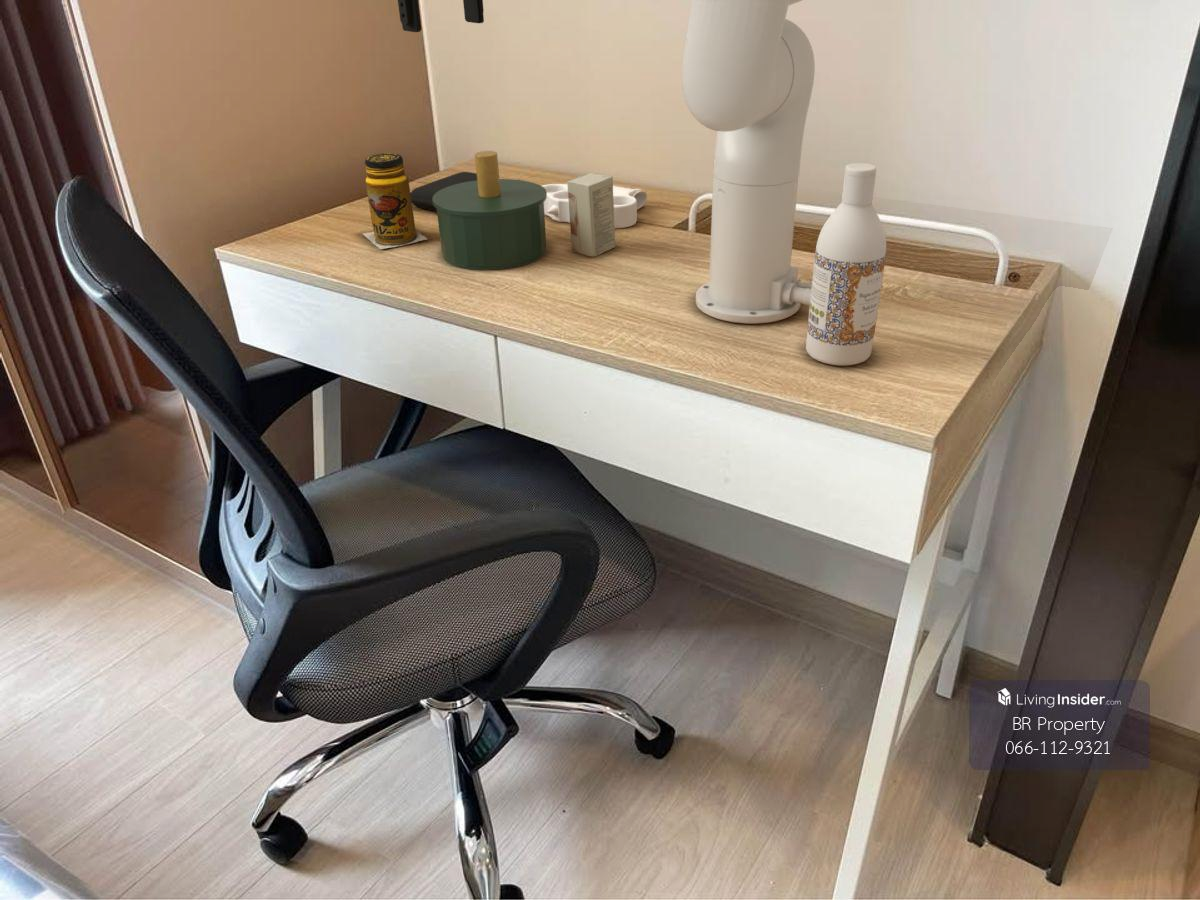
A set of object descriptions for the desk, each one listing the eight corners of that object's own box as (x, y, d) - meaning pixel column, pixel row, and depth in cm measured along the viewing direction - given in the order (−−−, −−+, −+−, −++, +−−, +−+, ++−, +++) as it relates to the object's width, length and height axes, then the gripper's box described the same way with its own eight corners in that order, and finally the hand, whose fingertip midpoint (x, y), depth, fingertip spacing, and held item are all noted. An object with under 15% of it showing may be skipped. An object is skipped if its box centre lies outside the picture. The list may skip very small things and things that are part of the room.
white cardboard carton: (593, 241, 132) (591, 171, 126) (616, 247, 129) (615, 176, 124) (568, 251, 128) (565, 179, 123) (592, 258, 126) (589, 185, 120)
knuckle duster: (664, 209, 143) (612, 236, 133) (571, 193, 152) (516, 217, 142) (664, 188, 142) (611, 213, 132) (570, 173, 151) (514, 195, 140)
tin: (566, 244, 131) (563, 191, 127) (506, 277, 121) (501, 221, 117) (485, 229, 138) (480, 179, 134) (421, 259, 127) (414, 206, 123)
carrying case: (460, 184, 158) (399, 207, 148) (458, 167, 157) (396, 188, 147) (507, 193, 153) (448, 217, 143) (506, 175, 152) (446, 198, 141)
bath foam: (838, 373, 95) (863, 180, 84) (791, 350, 100) (809, 164, 89) (884, 356, 98) (913, 167, 87) (837, 334, 103) (859, 153, 92)
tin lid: (568, 195, 128) (566, 146, 124) (502, 227, 116) (498, 174, 113) (480, 182, 135) (475, 135, 131) (409, 211, 123) (402, 160, 120)
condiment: (381, 250, 131) (367, 165, 124) (361, 234, 137) (348, 153, 130) (428, 240, 134) (418, 157, 127) (407, 225, 140) (396, 145, 134)
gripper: (381, -135, 99) (403, 37, 108) (505, -136, 109) (515, 21, 118) (345, -133, 103) (369, 32, 112) (466, -134, 114) (479, 17, 123)
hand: (444, 26), depth 115 cm, fingers open, 9 cm apart
